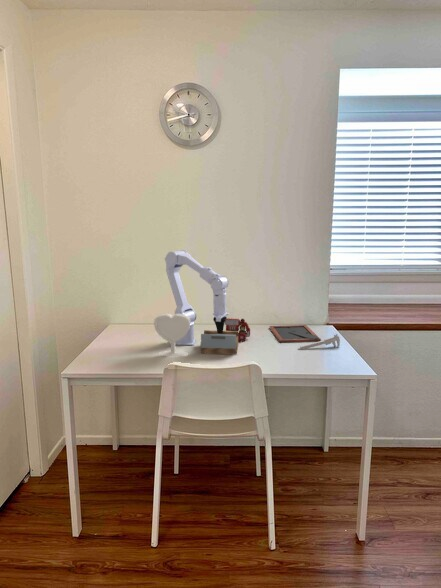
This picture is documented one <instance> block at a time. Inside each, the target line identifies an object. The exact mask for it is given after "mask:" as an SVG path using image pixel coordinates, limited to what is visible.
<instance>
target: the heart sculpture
mask: <svg viewBox="0 0 441 588" xmlns="http://www.w3.org/2000/svg"><path fill="white" fill-rule="evenodd" d="M190 324H191V321H190V318H189V317H188V316H186V315H184V314H175V313H174V315H173V314H171V313H169V312H168V313H162V314H158V315H157V316H156V317H155V318H154V321H153V327H154V329H155V331H156V333H157V334H158V336H159V337H161V338H162V339H163V340H165V341H167V342H168V343H170V351H160V352H158V356H160V355H162V357H163V355H164V357H166V356H167V357H187V356H189V353H188V352H186V351H176V345H175V342H176V341H178V340H180V339H181V338H183V337H184V336H185V335H186V333H187V332H188V330H189V329H190Z"/></svg>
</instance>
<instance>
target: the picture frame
mask: <svg viewBox="0 0 441 588" xmlns="http://www.w3.org/2000/svg"><path fill="white" fill-rule="evenodd" d="M268 327H269V330H270V331H271V332H272V334H273V335H274V336H275V339H277V341H278V343H280V344H281V343H282V344H283V343H284V344H285V343H310V342H311V343H315V342H319V341H322V340H321V337H319V335H317V334H316V333H315V332H314V331H313V330H312V329H311V328H310V327H308V326H307V324H294V325H292V324H291V325H269V326H268Z"/></svg>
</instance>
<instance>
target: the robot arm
mask: <svg viewBox="0 0 441 588" xmlns="http://www.w3.org/2000/svg"><path fill="white" fill-rule="evenodd" d="M164 261H165V271H166V275H167V279H168V282H169V285H170V288H171V291H172V295H173V298H174V301H175V305H176V308H175V310H174V315H175V314H184V315H186V316H188V317H189V318H190V321H191V324H190V329H189V330H188V332H187V333H186V335H185V336H184V337H183V338H181V339H180V340H178V341H176V342H175V346H176V345H177V346H178V345H179V346H194V345H195V342H196V341H197V339H195V329H194V328H195V327H194V326H195V325H194V324H195V321H196V320H197V313H196V311H195V310H194V307H193V306H192V305H191V304H190V303H189V302H188V298H187V295H186V291H185V288H184V285H183V282H182V278H181V276H180V270H181V268H182V267H184V265H186V266H188V267H189V268H191V269H192V270H193V271H195V272H197V273H198V274H199V277H200V278H201V279H202V280H203V281H204V282H206V283H208V284H209V285H210V288H211V289H212V295H213V302H212V303H213V305H212V306H213V313H212V315H213V322H214V324H215V328H216V331H217V332H218V333H222V332H223V331H224V326H225V320H226V318H227V316H229V315H230V312H227V288H228V287H229V280H228V278H227V277H226V276H225V275H221V274H219V273H217V272H215V271H214V270H213V268H212V267H210V266H209V267H208V266H203V265H202V264H201V263H199V262H198V261H197V260H196V259H195V258H193V256H191V255H190V253H189V252H187V251H186V250H184V249H180V250H175V251H169V252H167V254H166V255H165V257H164Z"/></svg>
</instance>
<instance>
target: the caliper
mask: <svg viewBox="0 0 441 588" xmlns="http://www.w3.org/2000/svg"><path fill="white" fill-rule="evenodd" d="M340 343H341V340H340V336H339V335H338V334H337V333H336V334H333V336H332V337H328V338H324V339H323V340H321V341H319V342H311V343H309V344H308V343H307V344H304V345H302V346H299V347H298V348H297V350H303V351H304V350H306V349H307V350H308V349H312V348H314V347H318V346H322V345H326V346H327V345H330V344H332V346H333V347H335V348H336V347H340V346H341V344H340Z"/></svg>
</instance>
